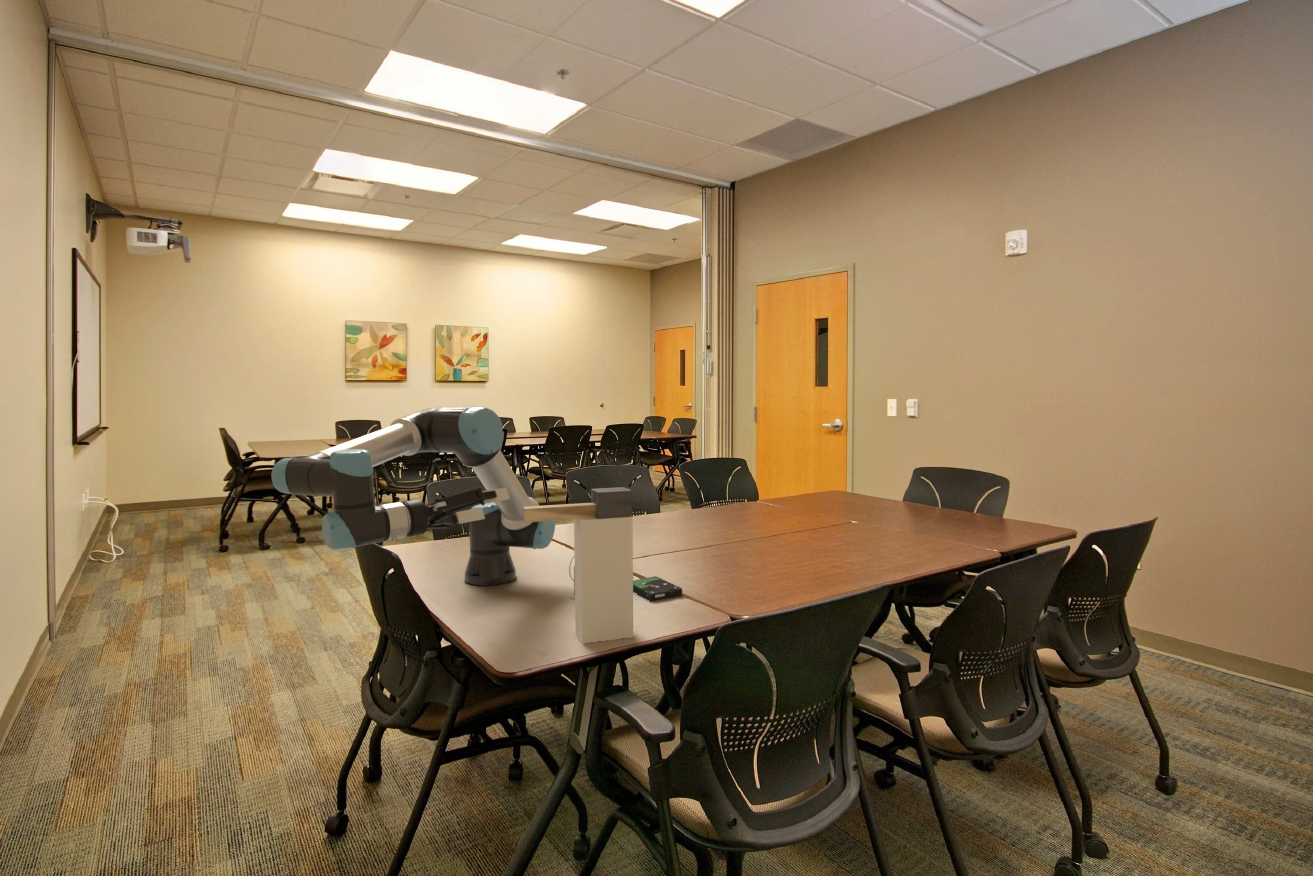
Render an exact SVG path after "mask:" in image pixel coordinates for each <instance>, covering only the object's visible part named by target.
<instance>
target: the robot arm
mask: <svg viewBox="0 0 1313 876" xmlns="http://www.w3.org/2000/svg"><path fill="white" fill-rule="evenodd" d="M503 428H504V425H503V423H502V420H501V418H500V416H499V415H498V414H497V413H496V412H495V411H494V410H493V409H491V408H488V407H482V406H481V407H480V406H477V405H476V406H475V405H473V406H434V407H430V408H429V407H428V408H426V409H422V410H418V411H416V412H413V413H411V414H408V415H404V416H402V417H399V418H396V419H395V420H393V421H392V422H391V423H390V425H389V426H386V427H384V428H381V429H378V430H375V431H373V432H369V433H368V434H364V435H362V436H359V437H357V438H353V439H351V440H348V441H346V442H342V443H340V444H337V445H335V446H331V447H329V448H326V449H323V450H320V451H317V452H314V453H311V454H308V455H306V456H302V457H295V456H294V457H293V456H292V457H284V458H282V459H280V460H279V461H277V462H276V463H275V464H274V466H273V468H272V471H271V481H272V482H271V483H272V485H273V487H274V488H275V490H277V491H279V492H280V493H282V494H288V495H289V494H291V495H292V496H318V497H332V500H333V511H331V512H329V513H326V514H324V515H323V517H322V521H321V522H322V525H321V532H322V538H323V540H324V543H325V545H326V546H327V547H328V548H329V549H331V550H332V551H338V550H345V549H355V548H358V547H362V546H367V545H373V544H377V543H381V542H386V541H387V542H388V541H390V540H392V542H393V543H395V542H397V541H398V539H402V538H405V537H414V536H420V535H424V534H425V533H426V532H427V531H428V530H444V529H445V530H447V529H448V530H449V529H451V528H452V527H453V526H456V525H461V524H465V523H466V524H467V523H469V527H468V529H469V532H468V533H469V558H468V561H467V564H466V567H465V571H464V582H465V581H466V582H468V583H467V584H469V583H470V585H472V586H473V585H474V586H495V585H500V584H499V583H502V584H505V583H504V582H506V583H509V582H508V581H510V582H512V581H514V580H515V579H516V578H517V570H516V568H515V565H514V561H513V559H512V556H511V551H510V550H511V549H510V548H521V549H522V548H523V549H532V550H538V549H539V550H540V549H541V550H543V549H546V548H547V547H549V545H550V544H551V542H552V541H553V538H554V536H555V535H554V534H555V532H556V531H555V530H556V521H542V522H528V523H525V522H524V521H523V507H530V506H541V505H540V504H539V502H538V501H537V500H536V499H535V498H533V497H531V496H528V494H527V493H526V491H525V489H524V487H523V485H522V483H521V482H520V481H519V479H518V477H517V476H516V474H515V473H514V472H515V471H513V470H512V467H511V466H510V464H509V463H508V461H507V459H506V457H505V455H504V454H503V452H502V446H503V442H504V439H505V438H504V437H505V436H504V435H505V432H504V431H503ZM419 453H444V454H445V453H447V454H451V453H452V454H455V456H456V457H457V458H458V460H459V461H460V463H461V464H462V465H463V466H465V467H467V468H472V470H473V472H474V473H475V475H476V477H477V478H478V479H479V481H480V482H481V483H482V485H483V487H484V488H485V490H483V489H482V488H481V487H478V488H475V489H473V490H469V491H465V492H462V493H461V492H460V493H459V494H454V495H452V496H447V497H444V498H437V499H435V500H434V502H432V503H430V504H429V505H428V506H427V505H426V504H425V503H424V502H423V501H422V500H421V499H412V500H406V501H405V500H404V501H402V502H400V501H397V502H391V503H385V504H378V505H376V503H375V488H374V486H375V485H374V467H377V466H379V465H382V464H384V463H386V462H388V461H392V460H393V459H396V458H398V457H400V456H407V457H410V456H413V455H416V454H419ZM470 507H471V508H470ZM468 508H470V509H468ZM464 509H465V510H464ZM515 577H516V578H515ZM514 578H515V579H514ZM513 579H514V580H513ZM511 580H512V581H511ZM466 582H465V583H466Z"/></svg>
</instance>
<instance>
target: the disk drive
mask: <svg viewBox="0 0 1313 876" xmlns="http://www.w3.org/2000/svg"><path fill="white" fill-rule="evenodd" d="M634 592H635V593H637V594H638V595H637V594H636V595H637V596H639V597H641V598H643V599H645V600H646V599H647V600H646V601H648V600H649V602H651V603H652V601H653V602H658V601H661V600H662V601H663V599H664V600H667V599H668V600H669V599H674V598H681V597H683V588H682V587H680V586H677V585H675V584H673V583H671V582H670V581H667V580H665V579H663V578H661V577H659V576H657V575H655V576H649V577H643V578H640V579H635V580H634V579H633V593H634ZM635 593H634V594H635ZM657 600H658V601H657Z"/></svg>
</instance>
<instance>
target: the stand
mask: <svg viewBox="0 0 1313 876" xmlns="http://www.w3.org/2000/svg"><path fill="white" fill-rule="evenodd" d="M633 523H634V522H633V516H632V517H620V518H605V519H597V518H587V519H573V528H574V529H573V532H574V533H573V536H574V537H573V538H574V539H573V541H574V545H573V547H574V550H573V551H574V556H575V557H574V565H575V600H574V608H575V609H574V610H575V611H574V612H575V613H574V614H575V615H574V619H575V621H574V623H575V634H576V636H577V638H578V639H579V641H580V643H581V644H583V643H585V644H591V642H593V643H599V642H598V641H601V642H607V640H608V641H615V640H622V638H624V639H629V638H634V592H633V581H634V548H633V547H634V545H633V544H634V543H633V535H634V534H633V533H634V532H633V529H634V527H633ZM583 645H584V644H583Z"/></svg>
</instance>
